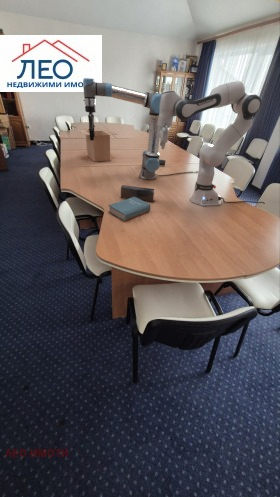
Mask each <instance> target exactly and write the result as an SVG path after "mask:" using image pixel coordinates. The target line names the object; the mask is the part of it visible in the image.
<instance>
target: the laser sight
mask: <svg viewBox="0 0 280 497" xmlns="http://www.w3.org/2000/svg"><path fill="white" fill-rule="evenodd" d="M159 166H164V167H165V166H166V159H159Z"/></svg>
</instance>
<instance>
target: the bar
mask: <svg viewBox="0 0 280 497" xmlns="http://www.w3.org/2000/svg"><path fill="white" fill-rule="evenodd" d="M132 197H136V198H138V199H140V200H142V201H145V202H147V203H153V202H154V198H155V188H150V187H149V188H148V187H140V186H132V185H124V184H123V185H121V187H120V199H123V200H125V199H129V198H132Z"/></svg>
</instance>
